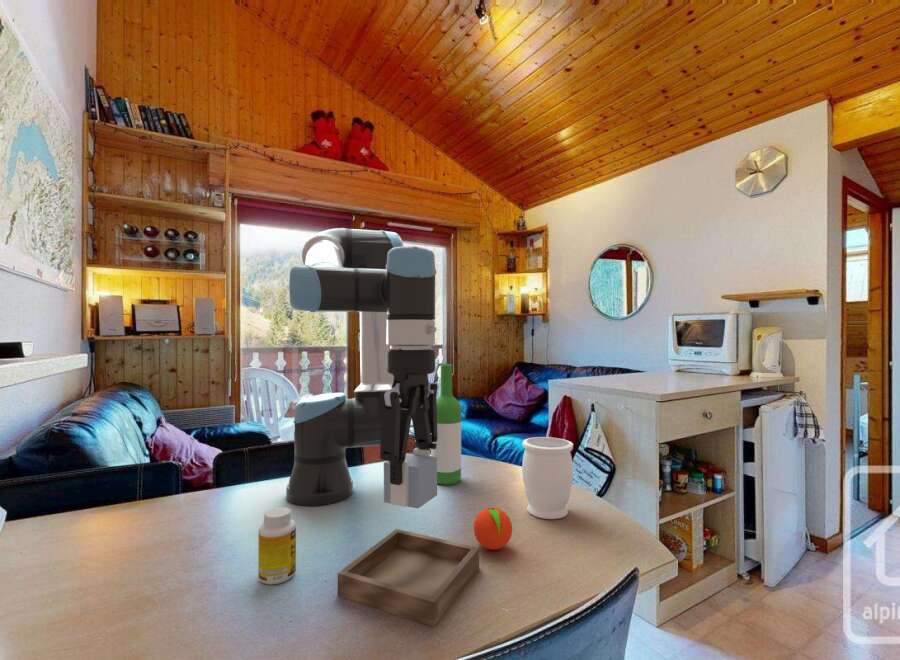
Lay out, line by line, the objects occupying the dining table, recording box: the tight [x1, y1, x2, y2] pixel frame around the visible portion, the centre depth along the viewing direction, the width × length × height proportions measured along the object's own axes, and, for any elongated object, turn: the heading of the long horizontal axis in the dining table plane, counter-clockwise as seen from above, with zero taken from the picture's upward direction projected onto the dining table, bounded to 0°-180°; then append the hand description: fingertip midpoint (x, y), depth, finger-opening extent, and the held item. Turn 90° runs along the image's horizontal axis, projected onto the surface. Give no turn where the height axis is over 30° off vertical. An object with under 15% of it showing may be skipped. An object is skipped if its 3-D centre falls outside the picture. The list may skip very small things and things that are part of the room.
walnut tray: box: [337, 528, 480, 628], centre depth 69 cm, size 16×16×3 cm
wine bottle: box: [430, 363, 462, 486], centre depth 114 cm, size 8×8×30 cm
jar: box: [521, 436, 574, 520], centre depth 95 cm, size 11×10×15 cm
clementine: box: [473, 507, 513, 551], centre depth 79 cm, size 8×7×7 cm
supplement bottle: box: [257, 506, 297, 585], centre depth 70 cm, size 6×6×10 cm
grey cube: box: [383, 452, 438, 509], centre depth 69 cm, size 6×6×6 cm
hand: (411, 496), depth 69 cm, fingers closed on grey cube, 6 cm apart
